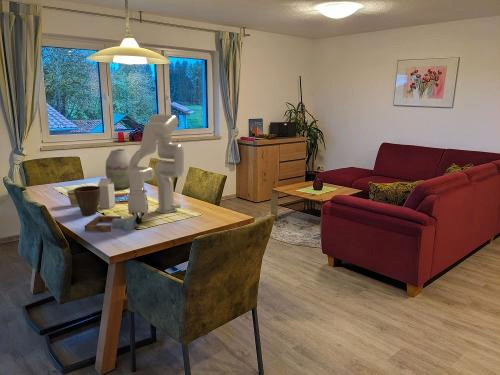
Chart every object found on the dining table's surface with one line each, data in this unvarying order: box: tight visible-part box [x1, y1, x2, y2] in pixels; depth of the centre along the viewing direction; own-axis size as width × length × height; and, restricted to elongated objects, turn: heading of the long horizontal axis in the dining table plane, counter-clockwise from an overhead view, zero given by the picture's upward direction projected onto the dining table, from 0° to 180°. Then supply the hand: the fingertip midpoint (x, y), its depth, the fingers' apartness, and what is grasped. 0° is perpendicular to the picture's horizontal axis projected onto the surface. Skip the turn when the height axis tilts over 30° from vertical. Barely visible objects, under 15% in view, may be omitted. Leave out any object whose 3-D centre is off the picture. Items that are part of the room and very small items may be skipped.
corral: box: [83, 215, 122, 233], centre depth 219 cm, size 14×18×3 cm
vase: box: [105, 148, 132, 191], centre depth 306 cm, size 21×21×30 cm
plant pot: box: [73, 185, 100, 217], centre depth 239 cm, size 15×15×16 cm
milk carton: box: [97, 177, 116, 209], centre depth 254 cm, size 7×7×19 cm
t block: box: [111, 215, 138, 231], centre depth 218 cm, size 12×12×4 cm
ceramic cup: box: [66, 189, 79, 208], centre depth 259 cm, size 13×10×10 cm
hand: (139, 224), depth 218 cm, fingers closed
